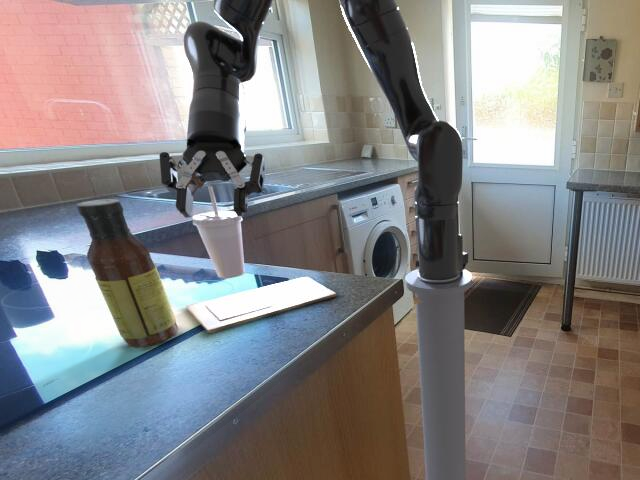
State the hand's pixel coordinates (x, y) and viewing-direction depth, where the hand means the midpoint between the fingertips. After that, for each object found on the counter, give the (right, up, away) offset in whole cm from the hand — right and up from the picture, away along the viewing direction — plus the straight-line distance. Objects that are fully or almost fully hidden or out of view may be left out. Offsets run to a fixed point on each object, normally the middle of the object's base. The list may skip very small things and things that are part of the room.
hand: (212, 213), depth 61 cm
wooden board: (+1, -14, +11) cm, 17 cm away
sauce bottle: (-8, -19, -2) cm, 20 cm away
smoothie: (-1, -9, +6) cm, 11 cm away
